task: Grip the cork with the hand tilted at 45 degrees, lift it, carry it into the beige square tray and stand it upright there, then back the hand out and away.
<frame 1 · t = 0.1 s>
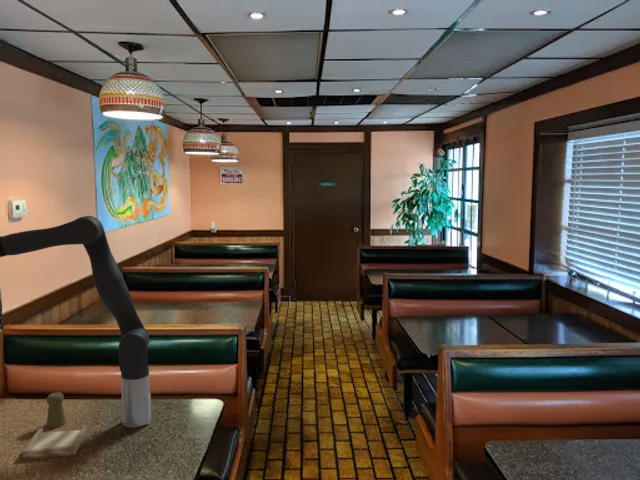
beige square tray: (56, 444, 159), on the table
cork: (56, 424, 173), on the table
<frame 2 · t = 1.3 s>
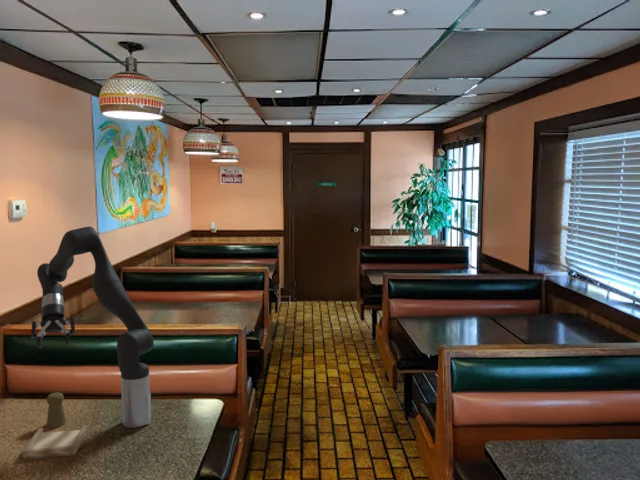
hand: (53, 345, 180), 25 cm above the table, tool tilted 45°, fingers open, 8 cm apart
nothing on the table moved.
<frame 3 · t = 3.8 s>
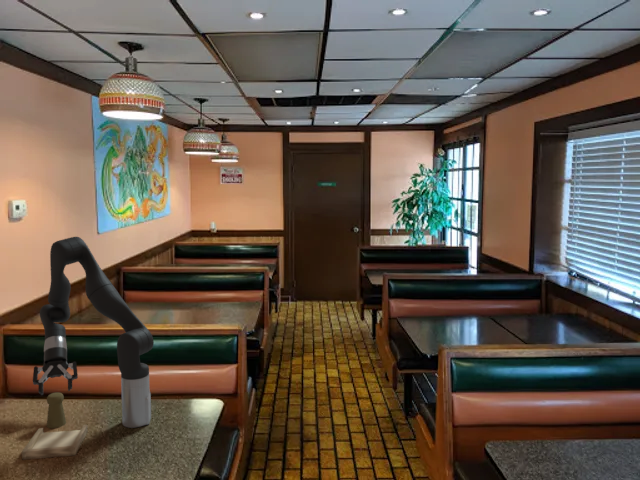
hand: (55, 392, 176), 10 cm above the table, tool tilted 45°, fingers open, 8 cm apart
nothing on the table moved.
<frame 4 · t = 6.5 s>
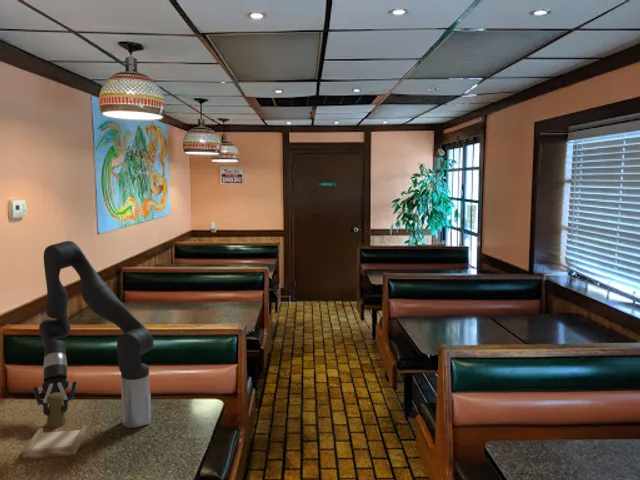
hand: (55, 413, 170), 5 cm above the table, tool tilted 45°, fingers closed on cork, 4 cm apart
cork: (56, 424, 173), on the table, touching gripper
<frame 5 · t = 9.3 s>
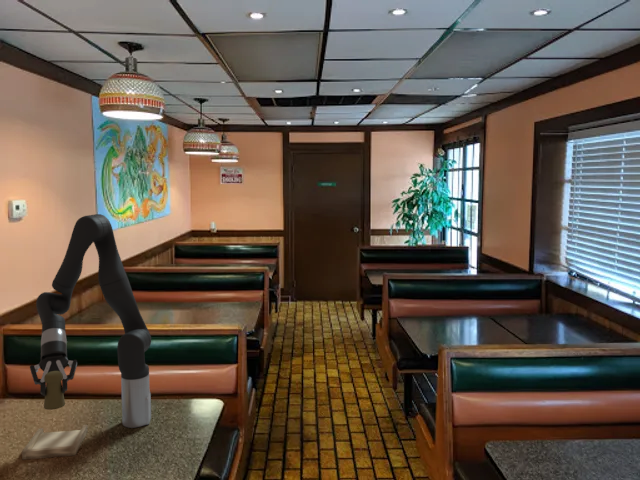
hand: (54, 393, 155), 18 cm above the table, tool tilted 45°, fingers closed on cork, 4 cm apart
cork: (54, 406, 158), point 13 cm above the table, touching gripper
when the fingers open (7 cm above the table, at t = 12.2 s): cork drops 1 cm, resting on beige square tray.
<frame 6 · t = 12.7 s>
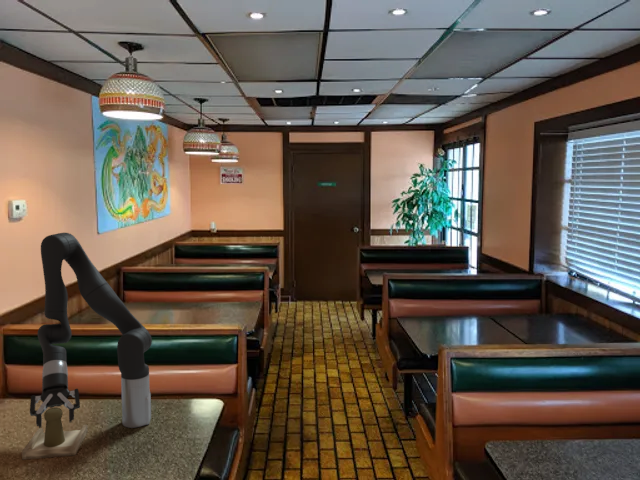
hand: (55, 424, 157), 8 cm above the table, tool tilted 45°, fingers open, 8 cm apart
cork: (54, 442, 159), point 1 cm above the table, touching beige square tray
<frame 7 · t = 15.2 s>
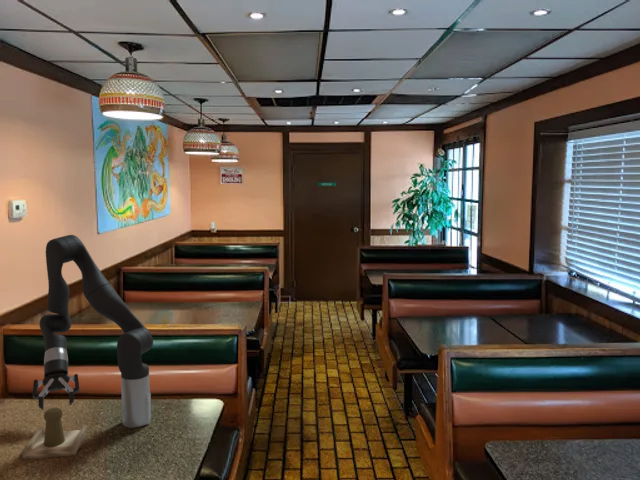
hand: (56, 406, 168), 8 cm above the table, tool tilted 45°, fingers open, 8 cm apart
nothing on the table moved.
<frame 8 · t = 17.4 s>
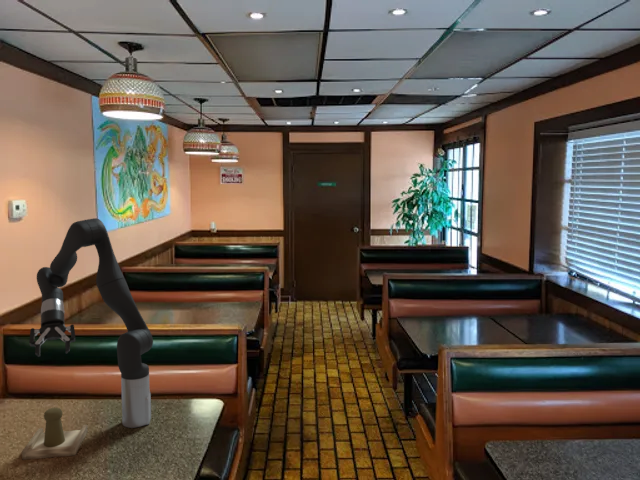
hand: (53, 354, 171), 25 cm above the table, tool tilted 45°, fingers open, 8 cm apart
nothing on the table moved.
at the end: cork inside the target area on the beige square tray (0.8 cm from its centre), point 0.6 cm above the beige square tray's base; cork tilted 0°; the gripper is holding nothing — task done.
